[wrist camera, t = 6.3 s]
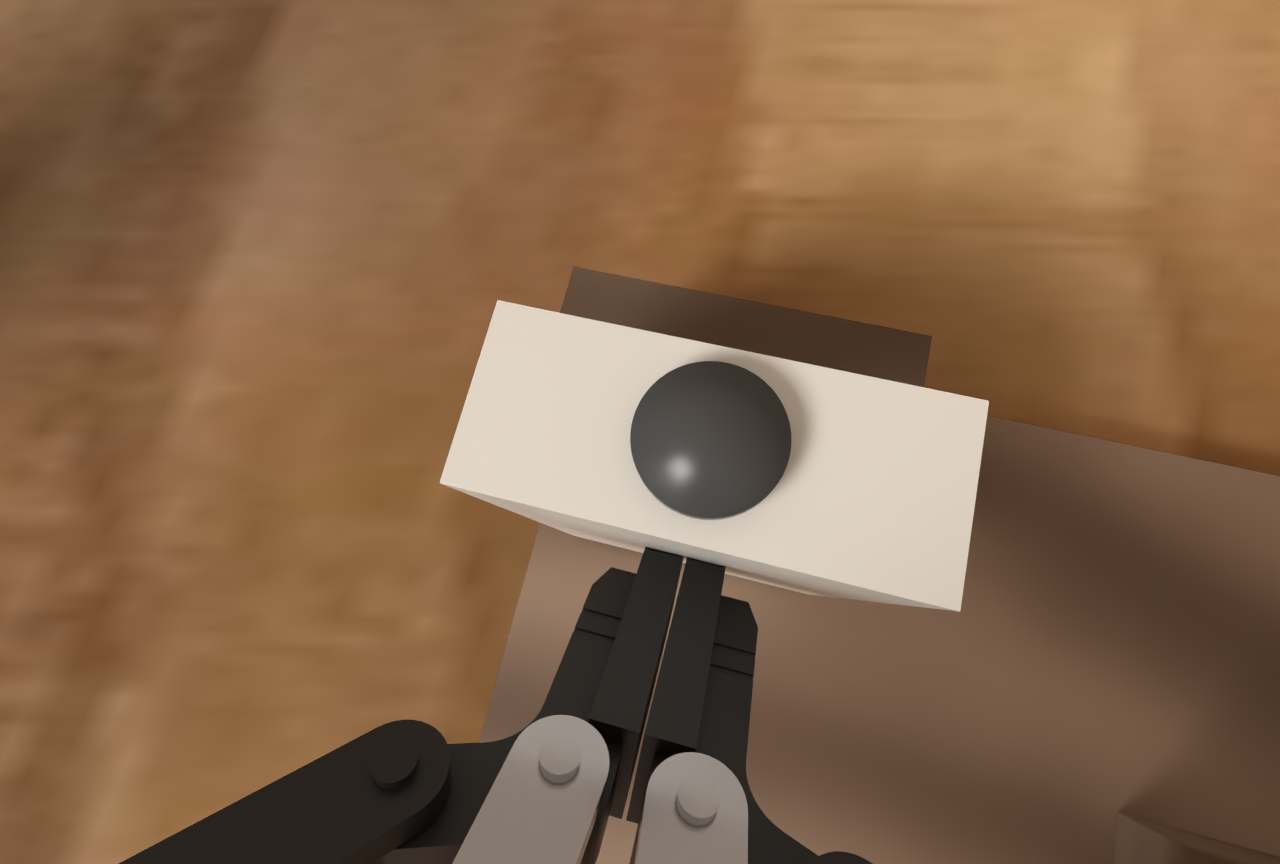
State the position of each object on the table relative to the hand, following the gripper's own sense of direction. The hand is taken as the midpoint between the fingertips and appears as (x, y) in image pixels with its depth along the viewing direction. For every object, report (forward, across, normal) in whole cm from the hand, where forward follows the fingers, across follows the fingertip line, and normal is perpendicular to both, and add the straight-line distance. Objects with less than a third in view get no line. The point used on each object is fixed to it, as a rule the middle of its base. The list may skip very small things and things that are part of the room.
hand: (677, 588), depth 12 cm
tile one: (+4, 0, +2) cm, 4 cm away
